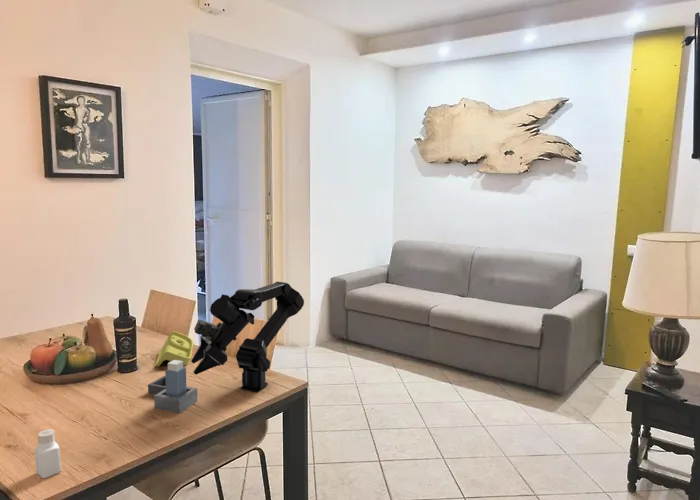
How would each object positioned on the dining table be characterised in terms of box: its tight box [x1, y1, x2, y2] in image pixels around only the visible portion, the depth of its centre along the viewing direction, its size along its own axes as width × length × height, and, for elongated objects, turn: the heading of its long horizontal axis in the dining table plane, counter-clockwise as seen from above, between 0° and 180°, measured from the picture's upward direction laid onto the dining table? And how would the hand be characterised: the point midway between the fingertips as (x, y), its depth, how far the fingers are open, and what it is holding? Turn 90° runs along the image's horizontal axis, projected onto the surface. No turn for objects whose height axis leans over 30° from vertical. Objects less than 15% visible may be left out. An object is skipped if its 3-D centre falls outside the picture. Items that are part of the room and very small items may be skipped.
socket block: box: [153, 386, 198, 414], centre depth 145 cm, size 8×8×4 cm
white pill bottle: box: [34, 428, 62, 479], centre depth 110 cm, size 4×4×10 cm
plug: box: [164, 360, 187, 397], centre depth 144 cm, size 4×4×13 cm
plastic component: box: [154, 330, 194, 367], centre depth 184 cm, size 20×7×10 cm
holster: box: [147, 375, 166, 396], centre depth 154 cm, size 7×7×3 cm
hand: (193, 367), depth 146 cm, fingers open, 9 cm apart
